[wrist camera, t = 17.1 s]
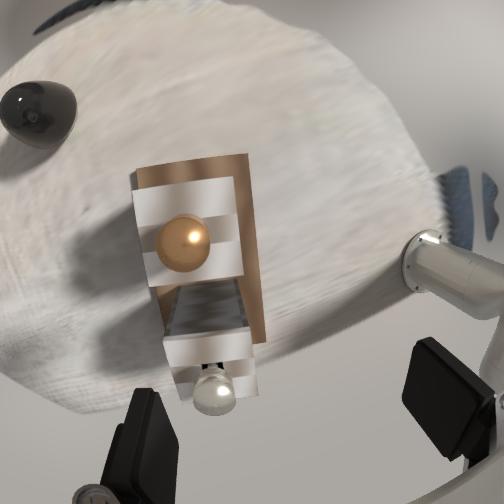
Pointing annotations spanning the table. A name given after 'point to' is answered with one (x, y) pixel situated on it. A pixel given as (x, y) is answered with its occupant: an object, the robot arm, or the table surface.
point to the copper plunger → (183, 243)
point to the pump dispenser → (39, 113)
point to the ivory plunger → (214, 391)
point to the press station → (205, 269)
